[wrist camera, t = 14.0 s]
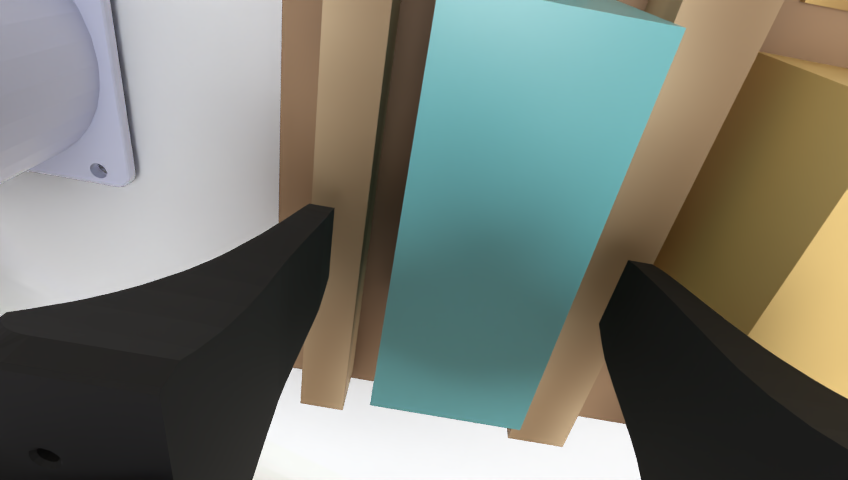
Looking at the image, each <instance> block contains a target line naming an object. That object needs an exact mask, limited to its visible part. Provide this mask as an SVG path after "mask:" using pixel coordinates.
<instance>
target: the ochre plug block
mask: <svg viewBox="0 0 848 480" xmlns="http://www.w3.org/2000/svg"><path fill="white" fill-rule="evenodd" d="M653 265H654V266H656V267H658V268H659V269H661V270H662V271H664V272H665V273H667V274H668V275H669V276H671V277H672V278H673V279H675V280H676V281H677V282H679V283H680V284H681V285H682V286H684V287H685V288H686V289H688V290H689V291H690V292H691V293H693V294H694V295H695V296H696V297H698V298H699V299H700V300H701V301H703V302H704V303H705V304H706V305H708V306H709V307H710V308H712V309H713V310H714V311H715V312H717V313H718V314H719V315H721V316H722V317H723V318H724V319H726V320H727V321H728V322H730V323H731V324H732V325H734V326H735V327H736V328H738V329H739V330H740V331H742V332H743V333H744V334H746V335H747V336H749V337H750V338H751V339H753V340H754V341H756V342H757V343H758V344H760V345H761V346H763V347H764V348H765V349H767V350H768V351H770V352H771V353H773V354H774V355H776V356H777V357H779V358H780V359H782V360H783V361H785V362H787V363H788V364H790V365H791V366H793V367H794V368H796V369H798V370H799V371H801V372H802V373H804V374H806V375H807V376H809V377H810V378H812V379H814V380H815V381H817V382H819V383H820V384H822V385H824V386H826V387H827V388H829V389H831V390H833V391H834V392H836V393H838V394H840V395H842V396H843V397H845V398H847V399H848V68H842V67H837V66H832V65H827V64H822V63H817V62H811V61H806V60H801V59H796V58H791V57H785V56H780V55H775V54H770V53H765V52H758V55H757V57H756V59H755V61H754V63H753V65H752V67H751V69H750V71H749V73H748V75H747V77H746V79H745V81H744V83H743V85H742V87H741V89H740V91H739V93H738V95H737V97H736V99H735V101H734V103H733V105H732V107H731V109H730V111H729V113H728V115H727V117H726V119H725V121H724V123H723V125H722V127H721V129H720V131H719V133H718V135H717V137H716V139H715V141H714V143H713V145H712V147H711V149H710V151H709V153H708V155H707V157H706V159H705V161H704V163H703V165H702V167H701V169H700V171H699V173H698V175H697V177H696V179H695V181H694V183H693V185H692V187H691V189H690V191H689V193H688V195H687V197H686V199H685V201H684V203H683V205H682V207H681V209H680V211H679V213H678V215H677V217H676V219H675V221H674V223H673V226H672V228H671V230H670V232H669V234H668V236H667V238H666V240H665V242H664V244H663V246H662V248H661V250H660V252H659V254H658V256H657V258H656V260H655V262H654V264H653Z"/></svg>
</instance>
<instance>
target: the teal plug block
mask: <svg viewBox="0 0 848 480" xmlns="http://www.w3.org/2000/svg"><path fill="white" fill-rule="evenodd" d="M685 30H686V28H685V27H682V26H680V25H677V24H675V23H672V22H670V21H667V20H665V19H662V18H660V17H657V16H655V15H652V14H650V13H647V12H644V11H642V10H639V9H637V8H634V7H632V6H629V5H627V4H624V3H622V2H619V1H617V0H436V4H435V10H434V16H433V22H432V28H431V34H430V41H429V47H428V53H427V59H426V65H425V71H424V77H423V84H422V90H421V96H420V102H419V108H418V114H417V120H416V126H415V133H414V139H413V145H412V151H411V157H410V163H409V169H408V176H407V182H406V188H405V194H404V200H403V206H402V212H401V218H400V225H399V231H398V237H397V243H396V249H395V255H394V261H393V268H392V274H391V280H390V286H389V292H388V298H387V304H386V310H385V317H384V323H383V329H382V335H381V341H380V347H379V353H378V360H377V366H376V372H375V378H374V384H373V390H372V396H371V402H370V405H373V406H379V407H385V408H391V409H397V410H403V411H409V412H414V413H420V414H426V415H432V416H438V417H444V418H450V419H456V420H462V421H468V422H474V423H480V424H486V425H492V426H498V427H504V428H510V429H516V430H520V429H521V426H522V424H523V422H524V419H525V417H526V414H527V412H528V410H529V407H530V405H531V402H532V400H533V397H534V395H535V393H536V390H537V388H538V385H539V383H540V380H541V378H542V376H543V373H544V371H545V368H546V366H547V364H548V361H549V359H550V356H551V354H552V351H553V349H554V347H555V344H556V342H557V339H558V337H559V335H560V332H561V330H562V327H563V325H564V322H565V320H566V318H567V315H568V313H569V310H570V308H571V306H572V303H573V301H574V298H575V296H576V293H577V291H578V289H579V286H580V284H581V281H582V279H583V277H584V274H585V272H586V269H587V267H588V264H589V262H590V260H591V257H592V255H593V252H594V250H595V247H596V245H597V243H598V240H599V238H600V235H601V233H602V231H603V228H604V226H605V223H606V221H607V218H608V216H609V214H610V211H611V209H612V206H613V204H614V202H615V199H616V197H617V194H618V192H619V189H620V187H621V185H622V182H623V180H624V177H625V175H626V173H627V170H628V168H629V165H630V163H631V160H632V158H633V156H634V153H635V151H636V148H637V146H638V143H639V141H640V139H641V136H642V134H643V131H644V129H645V127H646V124H647V122H648V119H649V117H650V114H651V112H652V110H653V107H654V105H655V102H656V100H657V98H658V95H659V93H660V90H661V88H662V85H663V83H664V81H665V78H666V76H667V73H668V71H669V69H670V66H671V64H672V61H673V59H674V56H675V54H676V52H677V49H678V47H679V44H680V42H681V40H682V37H683V35H684V32H685Z"/></svg>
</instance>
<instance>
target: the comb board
mask: <svg viewBox="0 0 848 480" xmlns="http://www.w3.org/2000/svg"><path fill="white" fill-rule="evenodd" d="M617 1H619V2H622V3H624V4H627V5H629V6H632V7H634V8H637V9H639V10H642V11H644V12H647V13H650V14H652V15H655V16H657V17H660V18H662V19H665V20H667V21H670V22H672V23H675V24H677V25H680V26H682V27H685V28H686V30H685V32H684V35H683V37H682V40H681V42H680V44H679V47H678V49H677V52H676V54H675V56H674V59H673V61H672V64H671V66H670V69H669V71H668V73H667V76H666V78H665V81H664V83H663V85H662V88H661V90H660V93H659V95H658V98H657V100H656V102H655V105H654V107H653V110H652V112H651V114H650V117H649V119H648V122H647V124H646V127H645V129H644V131H643V134H642V136H641V139H640V141H639V143H638V146H637V148H636V151H635V153H634V156H633V158H632V160H631V163H630V165H629V168H628V170H627V173H626V175H625V177H624V180H623V182H622V185H621V187H620V189H619V192H618V194H617V197H616V199H615V202H614V204H613V206H612V209H611V211H610V214H609V216H608V218H607V221H606V223H605V226H604V228H603V231H602V233H601V235H600V238H599V240H598V243H597V245H596V247H595V250H594V252H593V255H592V257H591V260H590V262H589V264H588V267H587V269H586V272H585V274H584V277H583V279H582V281H581V284H580V286H579V289H578V291H577V293H576V296H575V298H574V301H573V303H572V306H571V308H570V310H569V313H568V315H567V318H566V320H565V322H564V325H563V327H562V330H561V332H560V335H559V337H558V339H557V342H556V344H555V347H554V349H553V351H552V354H551V356H550V359H549V361H548V364H547V366H546V368H545V371H544V373H543V376H542V378H541V380H540V383H539V385H538V388H537V390H536V393H535V395H534V397H533V400H532V402H531V405H530V407H529V410H528V412H527V414H526V417H525V419H524V422H523V424H522V426H521V429H520V430H516V429H510V428H507V432H508V438H512V439H518V440H524V441H530V442H536V443H542V444H548V445H554V446H560V447H563V445H564V443H565V441H566V439H567V437H568V435H569V433H570V431H571V429H572V427H573V425H574V423H575V421H576V419H577V417H578V416H582V417H588V418H594V419H599V420H605V421H611V422H617V423H623V424H626V423H625V420H624V417H623V414H622V411H621V408H620V405H619V402H618V399H617V396H616V393H615V390H614V387H613V384H612V381H611V378H610V375H609V372H608V369H607V365H606V362H605V359H604V353H603V348H602V343H601V336H600V329H599V322H600V320H601V318H602V315H603V313H604V311H605V309H606V307H607V305H608V302H609V300H610V298H611V296H612V294H613V292H614V290H615V287H616V285H617V283H618V281H619V279H620V277H621V274H622V272H623V270H624V268H625V266H626V264H627V261H628V260H631V261H636V262H642V263H648V264H654V262H655V260H656V258H657V256H658V254H659V252H660V250H661V248H662V246H663V244H664V242H665V240H666V238H667V236H668V234H669V232H670V230H671V228H672V226H673V223H674V221H675V219H676V217H677V215H678V213H679V211H680V209H681V207H682V205H683V203H684V201H685V199H686V197H687V195H688V193H689V191H690V189H691V187H692V185H693V183H694V181H695V179H696V177H697V175H698V173H699V171H700V169H701V167H702V165H703V163H704V161H705V159H706V157H707V155H708V153H709V151H710V149H711V147H712V145H713V143H714V141H715V139H716V137H717V135H718V133H719V131H720V129H721V127H722V125H723V123H724V121H725V119H726V117H727V115H728V113H729V111H730V109H731V107H732V105H733V103H734V101H735V99H736V97H737V95H738V93H739V91H740V89H741V87H742V85H743V83H744V81H745V79H746V77H747V75H748V73H749V71H750V69H751V67H752V65H753V63H754V61H755V59H756V57H757V55H758V52H765V53H770V54H775V55H780V56H785V57H791V58H796V59H801V60H806V61H811V62H817V63H822V64H827V65H832V66H837V67H842V68H848V0H617ZM435 4H436V0H282V52H281V113H280V174H279V223H280V222H281V221H283V220H284V219H286V218H288V217H289V216H291V215H292V214H294V213H295V212H297V211H298V210H300V209H301V208H303V207H304V206H306V205H308V204H315V205H321V206H326V207H332V208H335V210H334V222H333V234H332V246H331V258H330V271H329V279H328V282H327V285H326V289H325V292H324V295H323V299H322V302H321V305H320V308H319V311H318V313H317V316H316V318H315V320H314V322H313V324H312V327H311V329H310V331H309V333H308V335H307V338H306V340H305V342H304V344H303V346H302V348H301V351H300V353H299V355H298V357H297V359H296V361H295V364H294V366H293V368H299V369H302V386H301V403H303V404H309V405H315V406H321V407H327V408H333V409H339V410H343V406H344V402H345V398H346V394H347V390H348V386H349V383H350V379H351V377H352V378H358V379H363V380H369V381H374V378H375V372H376V366H377V360H378V353H379V347H380V341H381V335H382V329H383V323H384V317H385V310H386V304H387V298H388V292H389V286H390V280H391V274H392V268H393V261H394V255H395V249H396V243H397V237H398V231H399V225H400V218H401V212H402V206H403V200H404V194H405V188H406V182H407V176H408V169H409V163H410V157H411V151H412V145H413V139H414V133H415V126H416V120H417V114H418V108H419V102H420V96H421V90H422V84H423V77H424V71H425V65H426V59H427V53H428V47H429V41H430V34H431V28H432V22H433V16H434V10H435Z"/></svg>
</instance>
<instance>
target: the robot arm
mask: <svg viewBox="0 0 848 480" xmlns="http://www.w3.org/2000/svg"><path fill="white" fill-rule="evenodd" d="M98 164H100V165H102V166H103V167H104V168H105V170H106V172H107V173H105V172H103V171H102V170H101V169H100V168H99V166H98ZM25 171H32V172H37V173H43V174H48V175H54V176H60V177H65V178H71V179H76V180H82V181H88V182H93V183H99V184H104V185H110V186H116V187H124V186H126V185H128V184H129V183H130V182H132V181H133V179H134V178H135V165H134V159H133V152H132V145H131V139H130V132H129V125H128V118H127V112H126V105H125V98H124V92H123V85H122V78H121V71H120V65H119V58H118V51H117V44H116V38H115V31H114V24H113V18H112V11H111V4H110V0H0V184H2V183H4V182H6V181H8V180H9V179H11V178H13V177H15V176H17V175H19V174H21V173H23V172H25ZM334 210H335V208H332V207H326V206H321V205H315V204H308V205H306V206H304V207H303V208H301V209H300V210H298V211H297V212H295V213H294V214H292V215H291V216H289V217H288V218H286V219H284V220H283V221H281V222H280V223H278V224H277V225H275V226H273V227H272V228H270V229H269V230H267V231H265V232H264V233H262V234H260V235H259V236H257V237H255V238H253V239H251V240H250V241H248V242H246V243H244V244H242V245H240V246H238V247H237V248H235V249H233V250H231V251H229V252H227V253H225V254H223V255H221V256H219V257H217V258H214V259H212V260H210V261H208V262H205V263H203V264H200V265H198V266H196V267H193V268H191V269H188V270H185V271H183V272H180V273H177V274H174V275H171V276H168V277H165V278H162V279H159V280H156V281H153V282H149V283H146V284H143V285H140V286H137V287H133V288H129V289H125V290H122V291H118V292H114V293H110V294H105V295H101V296H97V297H92V298H88V299H83V300H78V301H73V302H67V303H62V304H56V305H50V306H44V307H38V308H32V309H26V310H20V311H13V312H6V313H5V314H4V315H2V316H1V317H0V480H252V479H253V476H254V473H255V470H256V467H257V464H258V460H259V457H260V454H261V451H262V448H263V445H264V442H265V439H266V436H267V433H268V430H269V427H270V424H271V421H272V418H273V415H274V412H275V409H276V406H277V403H278V400H279V398H280V395H281V393H282V390H283V388H284V385H285V383H286V381H287V379H288V377H289V374H290V372H291V370H292V368H293V366H294V364H295V361H296V359H297V357H298V355H299V353H300V351H301V348H302V346H303V344H304V342H305V340H306V338H307V335H308V333H309V331H310V329H311V327H312V324H313V322H314V320H315V318H316V316H317V313H318V311H319V308H320V305H321V302H322V299H323V295H324V292H325V289H326V285H327V282H328V279H329V271H330V258H331V246H332V234H333V222H334ZM599 329H600V336H601V343H602V348H603V353H604V359H605V362H606V365H607V369H608V372H609V375H610V378H611V381H612V384H613V387H614V390H615V393H616V396H617V399H618V402H619V405H620V408H621V411H622V414H623V417H624V420H625V423H626V426H627V429H628V432H629V435H630V438H631V441H632V444H633V448H634V451H635V455H636V458H637V462H638V467H639V471H640V476H641V480H848V399H847V398H845V397H843V396H842V395H840V394H838V393H836V392H834V391H833V390H831V389H829V388H827V387H826V386H824V385H822V384H820V383H819V382H817V381H815V380H814V379H812V378H810V377H809V376H807V375H806V374H804V373H802V372H801V371H799V370H798V369H796V368H794V367H793V366H791V365H790V364H788V363H787V362H785V361H783V360H782V359H780V358H779V357H777V356H776V355H774V354H773V353H771V352H770V351H768V350H767V349H765V348H764V347H763V346H761V345H760V344H758V343H757V342H756V341H754V340H753V339H751V338H750V337H749V336H747V335H746V334H744V333H743V332H742V331H740V330H739V329H738V328H736V327H735V326H734V325H732V324H731V323H730V322H728V321H727V320H726V319H724V318H723V317H722V316H721V315H719V314H718V313H717V312H715V311H714V310H713V309H712V308H710V307H709V306H708V305H706V304H705V303H704V302H703V301H701V300H700V299H699V298H698V297H696V296H695V295H694V294H693V293H691V292H690V291H689V290H688V289H686V288H685V287H684V286H682V285H681V284H680V283H679V282H677V281H676V280H675V279H673V278H672V277H671V276H669V275H668V274H667V273H665V272H664V271H662V270H661V269H659V268H658V267H656V266H654V265H653V264H648V263H642V262H636V261H631V260H628V261H627V264H626V266H625V268H624V270H623V272H622V274H621V277H620V279H619V281H618V283H617V285H616V287H615V290H614V292H613V294H612V296H611V298H610V300H609V302H608V305H607V307H606V309H605V311H604V313H603V315H602V318H601V320H600V322H599Z"/></svg>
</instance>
